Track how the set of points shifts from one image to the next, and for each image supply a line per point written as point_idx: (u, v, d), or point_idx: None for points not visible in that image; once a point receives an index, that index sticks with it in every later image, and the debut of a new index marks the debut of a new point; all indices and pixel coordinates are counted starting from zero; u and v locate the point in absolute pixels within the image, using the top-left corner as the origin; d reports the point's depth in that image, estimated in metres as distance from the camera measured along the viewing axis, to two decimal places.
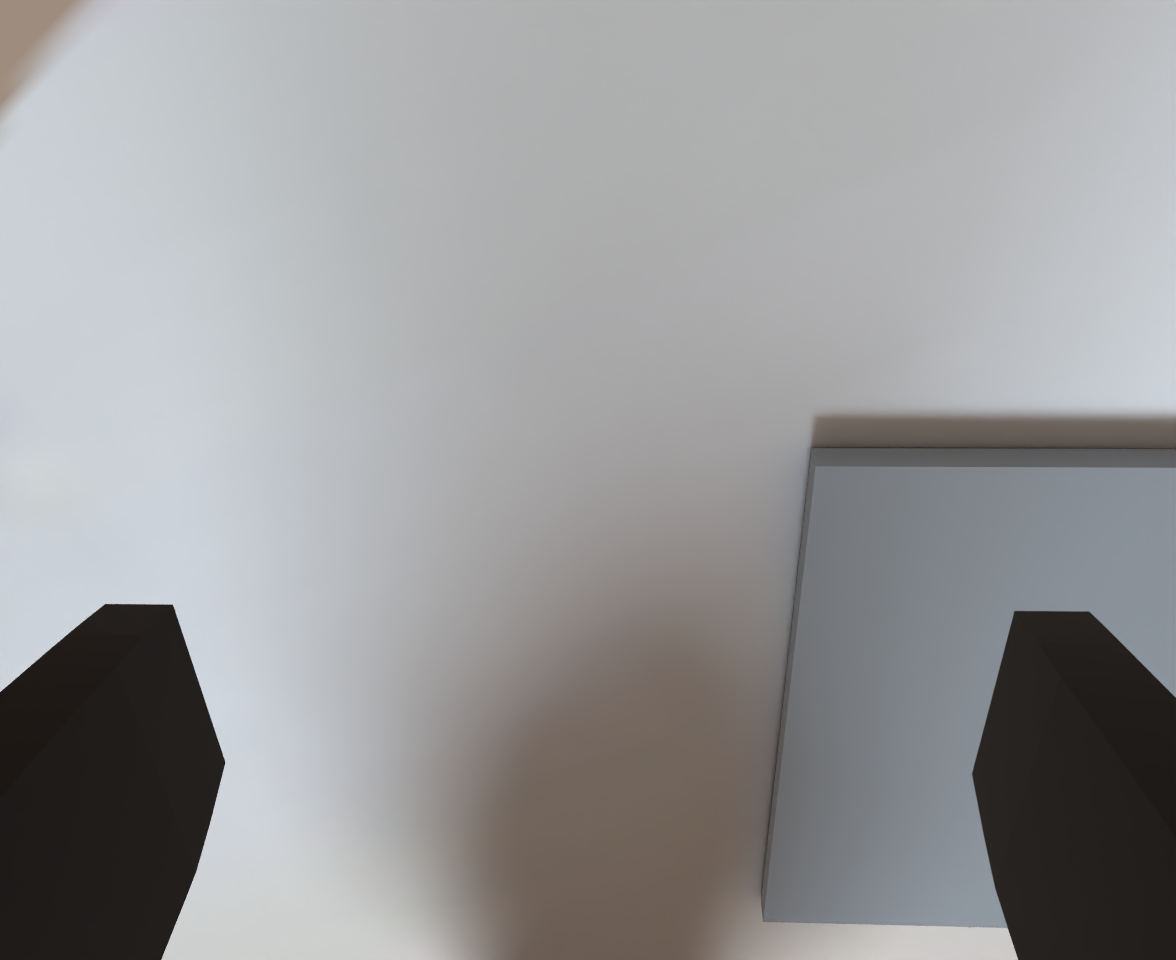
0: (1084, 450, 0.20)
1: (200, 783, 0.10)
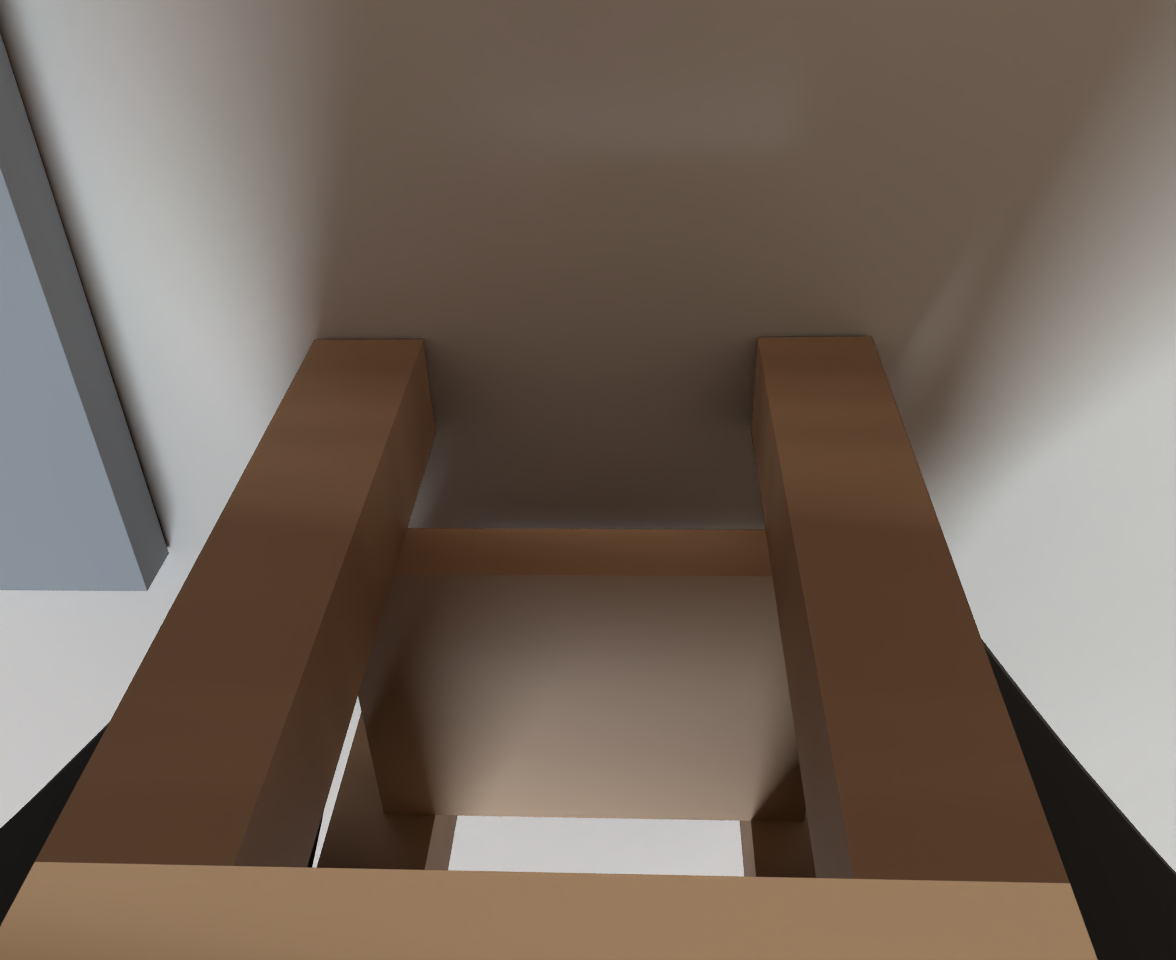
0: None
1: None
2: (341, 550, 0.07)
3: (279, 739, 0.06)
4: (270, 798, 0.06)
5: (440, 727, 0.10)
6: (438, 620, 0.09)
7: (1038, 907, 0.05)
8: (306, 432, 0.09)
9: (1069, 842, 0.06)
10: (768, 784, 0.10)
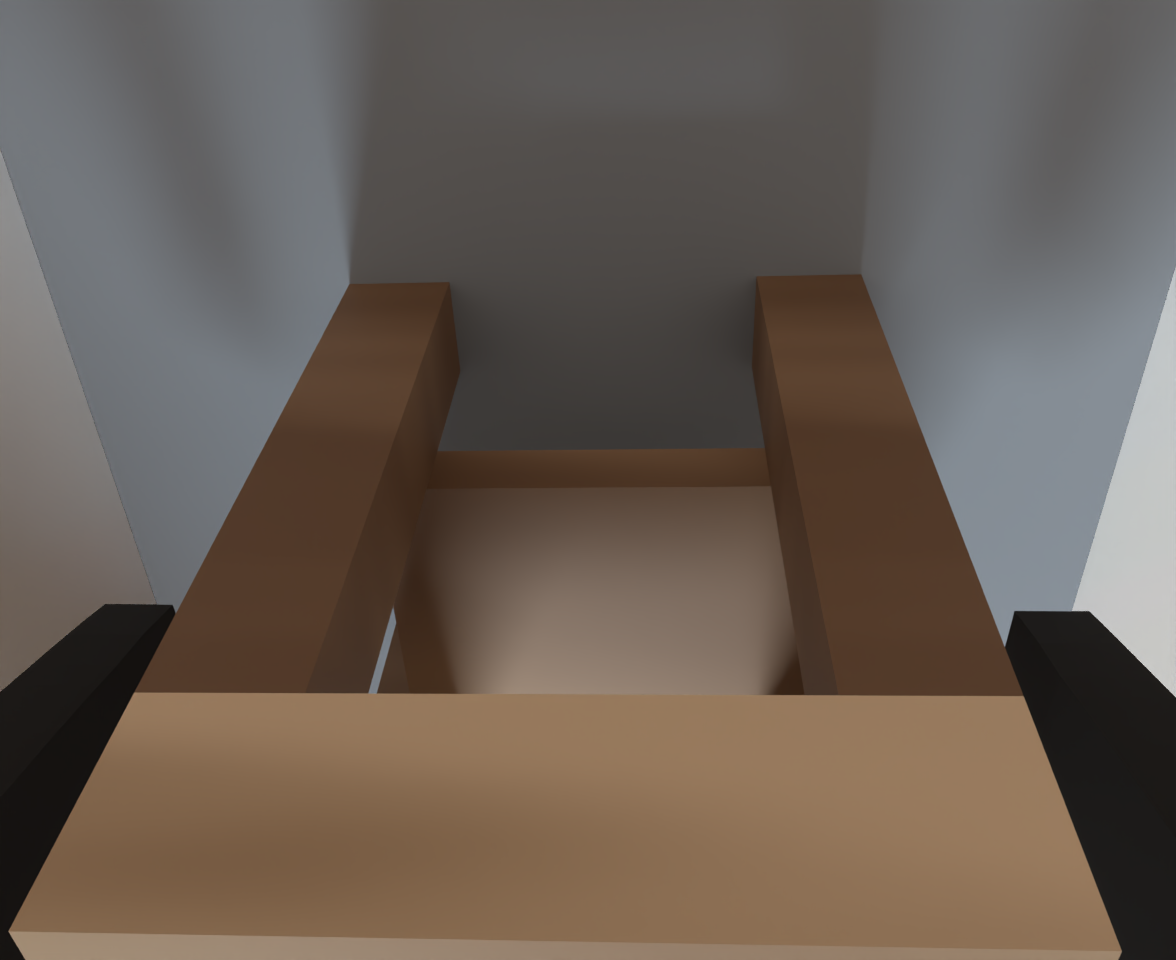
0: None
1: None
2: (383, 454, 0.08)
3: (337, 600, 0.07)
4: (332, 649, 0.07)
5: (468, 637, 0.11)
6: (467, 533, 0.10)
7: (995, 714, 0.06)
8: (346, 360, 0.09)
9: None
10: (770, 690, 0.11)
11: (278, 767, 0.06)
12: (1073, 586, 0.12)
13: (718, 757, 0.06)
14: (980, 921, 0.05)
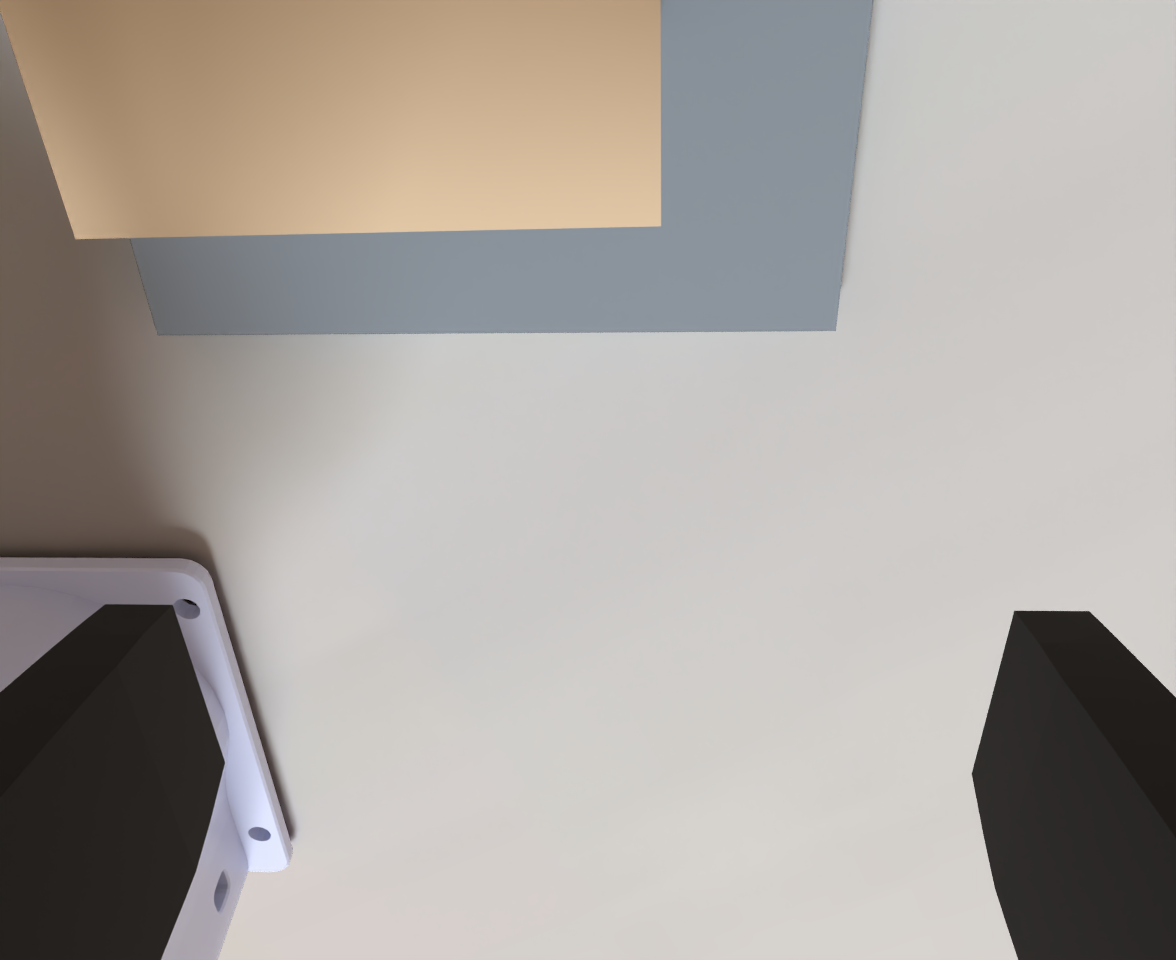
0: None
1: (200, 783, 0.10)
2: None
3: None
4: None
5: None
6: None
7: None
8: None
9: None
10: None
11: None
12: None
13: None
14: None
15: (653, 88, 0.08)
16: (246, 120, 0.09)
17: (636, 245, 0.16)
